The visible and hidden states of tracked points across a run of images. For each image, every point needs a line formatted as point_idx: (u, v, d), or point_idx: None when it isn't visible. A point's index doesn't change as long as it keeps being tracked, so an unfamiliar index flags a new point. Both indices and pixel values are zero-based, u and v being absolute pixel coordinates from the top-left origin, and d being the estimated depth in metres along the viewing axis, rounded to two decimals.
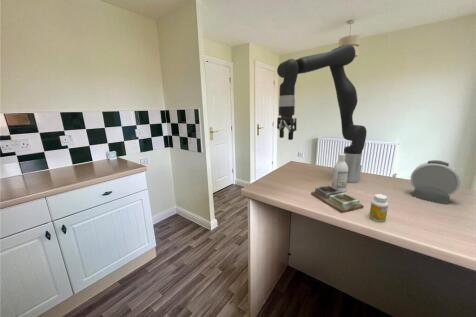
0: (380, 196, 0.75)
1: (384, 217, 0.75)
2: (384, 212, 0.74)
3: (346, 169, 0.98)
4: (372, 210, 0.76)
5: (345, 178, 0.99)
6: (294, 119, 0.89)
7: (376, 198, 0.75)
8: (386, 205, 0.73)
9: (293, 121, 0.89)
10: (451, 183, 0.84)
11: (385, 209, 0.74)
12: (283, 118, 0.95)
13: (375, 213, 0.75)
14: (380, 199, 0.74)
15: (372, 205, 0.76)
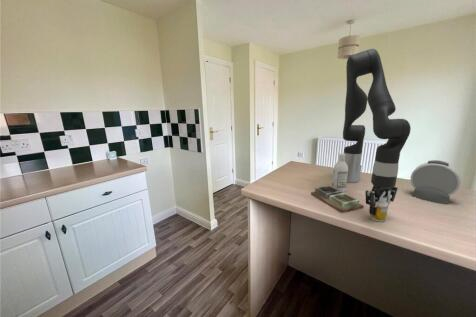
0: None
1: (384, 217, 0.75)
2: (384, 212, 0.74)
3: (346, 169, 0.98)
4: None
5: (345, 178, 0.99)
6: None
7: (376, 198, 0.75)
8: (386, 205, 0.73)
9: None
10: (451, 183, 0.84)
11: (385, 209, 0.74)
12: (383, 189, 0.73)
13: None
14: None
15: None
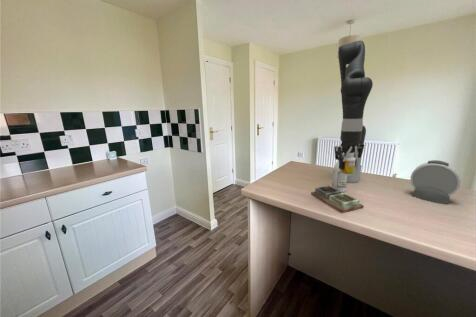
0: None
1: (352, 171, 0.82)
2: (352, 166, 0.81)
3: None
4: None
5: (345, 178, 0.99)
6: None
7: None
8: (353, 159, 0.81)
9: None
10: (451, 183, 0.84)
11: (352, 163, 0.81)
12: (350, 144, 0.80)
13: None
14: None
15: None
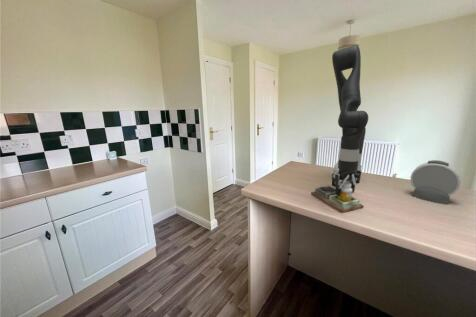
0: (345, 183, 0.85)
1: None
2: (349, 197, 0.85)
3: None
4: None
5: None
6: None
7: (342, 185, 0.85)
8: (350, 190, 0.84)
9: None
10: (451, 183, 0.84)
11: (349, 194, 0.84)
12: (347, 173, 0.83)
13: (341, 197, 0.86)
14: (345, 185, 0.84)
15: None
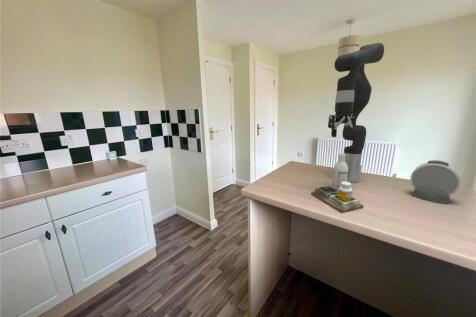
0: (345, 183, 0.86)
1: None
2: (349, 197, 0.85)
3: (346, 169, 0.98)
4: (339, 195, 0.87)
5: (345, 178, 0.99)
6: None
7: (342, 185, 0.85)
8: (350, 190, 0.84)
9: None
10: (451, 183, 0.84)
11: (349, 194, 0.84)
12: (343, 115, 0.89)
13: (341, 198, 0.86)
14: (345, 185, 0.84)
15: (339, 191, 0.87)
